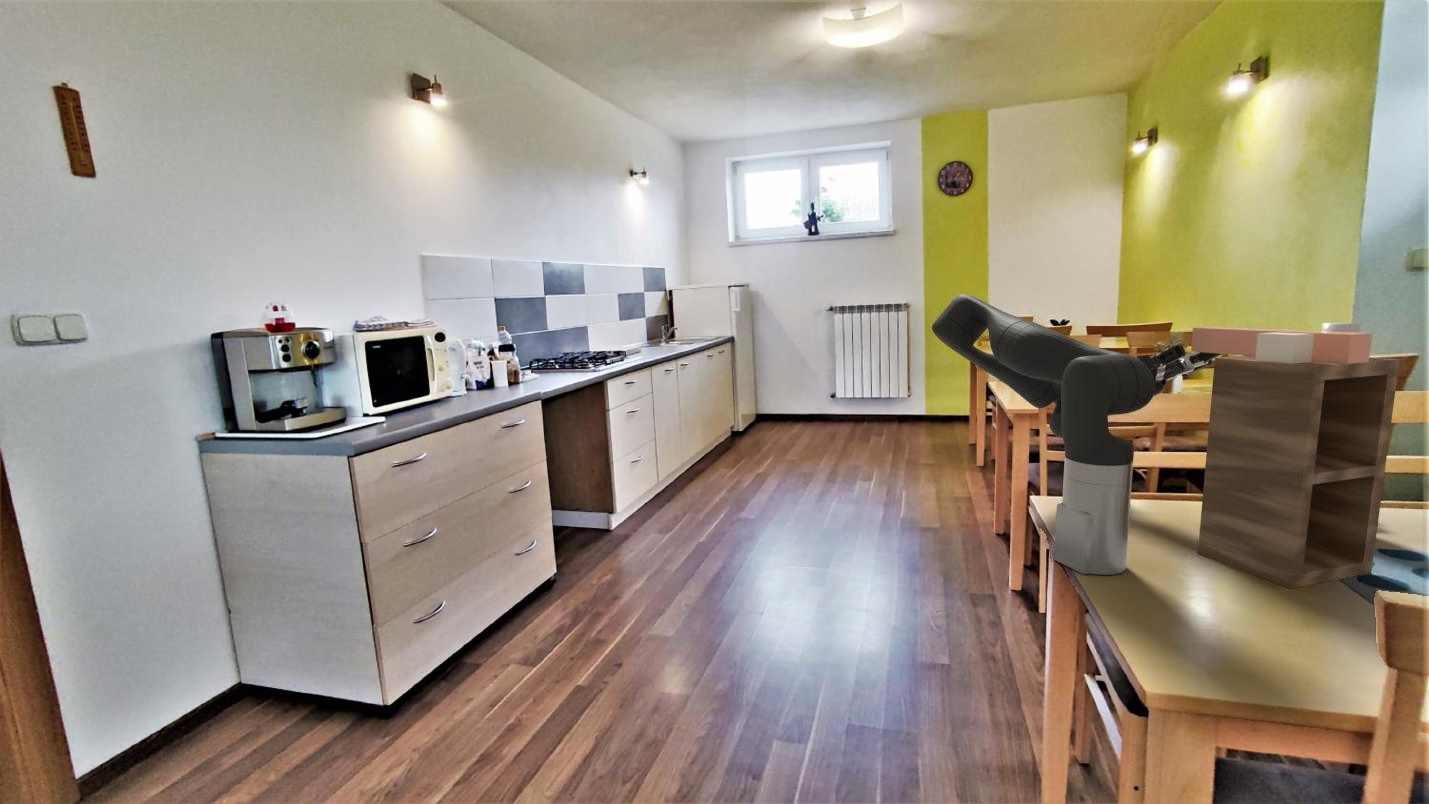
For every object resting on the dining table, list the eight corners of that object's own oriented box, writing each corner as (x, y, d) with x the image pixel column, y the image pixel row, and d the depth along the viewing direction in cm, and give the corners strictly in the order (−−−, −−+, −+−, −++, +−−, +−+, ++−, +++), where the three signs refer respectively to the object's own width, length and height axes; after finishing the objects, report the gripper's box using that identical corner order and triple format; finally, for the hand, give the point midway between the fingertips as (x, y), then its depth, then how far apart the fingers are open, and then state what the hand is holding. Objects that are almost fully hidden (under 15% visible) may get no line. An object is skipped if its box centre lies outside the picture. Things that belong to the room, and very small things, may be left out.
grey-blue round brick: (1343, 359, 97) (1347, 324, 96) (1311, 356, 101) (1314, 323, 100) (1364, 357, 98) (1368, 323, 97) (1331, 355, 102) (1335, 322, 101)
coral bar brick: (1347, 363, 92) (1351, 334, 91) (1191, 351, 114) (1193, 327, 113) (1368, 362, 93) (1372, 333, 92) (1209, 350, 115) (1211, 326, 114)
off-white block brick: (1291, 363, 94) (1294, 335, 93) (1255, 360, 99) (1257, 333, 98) (1310, 362, 95) (1314, 333, 94) (1273, 359, 100) (1276, 332, 99)
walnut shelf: (1290, 588, 95) (1315, 366, 90) (1197, 552, 109) (1214, 357, 104) (1371, 573, 99) (1399, 359, 94) (1272, 540, 113) (1292, 352, 108)
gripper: (1092, 369, 128) (1160, 330, 113) (1151, 365, 132) (1225, 326, 117) (1106, 406, 125) (1178, 370, 111) (1166, 400, 129) (1244, 365, 114)
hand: (1202, 348), depth 114 cm, fingers open, 8 cm apart
